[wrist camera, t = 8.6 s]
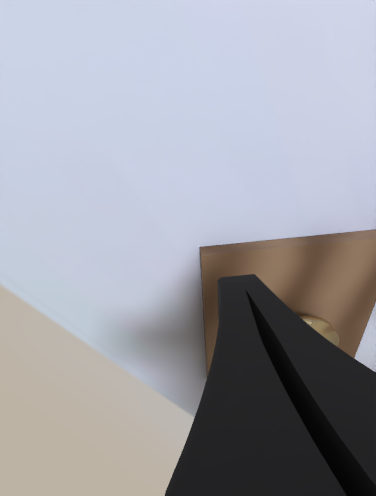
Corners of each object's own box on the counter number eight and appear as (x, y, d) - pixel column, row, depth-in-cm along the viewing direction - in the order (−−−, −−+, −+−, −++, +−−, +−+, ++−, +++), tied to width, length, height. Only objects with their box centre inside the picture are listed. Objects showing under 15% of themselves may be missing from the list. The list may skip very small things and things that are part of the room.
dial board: (388, 228, 20) (418, 248, 18) (341, 364, 29) (357, 390, 26) (199, 247, 20) (204, 269, 18) (207, 379, 28) (211, 407, 26)
